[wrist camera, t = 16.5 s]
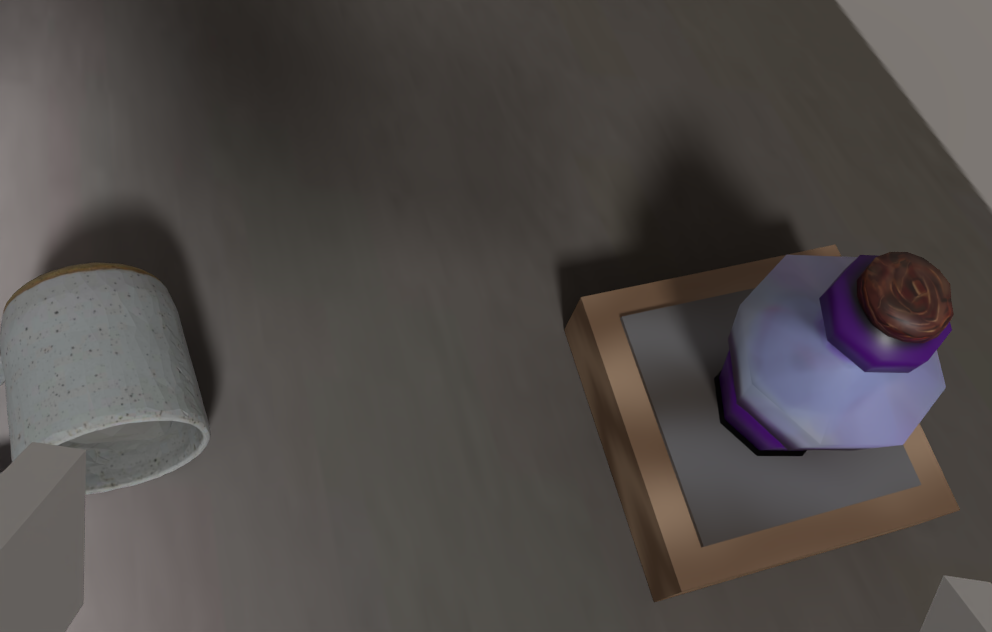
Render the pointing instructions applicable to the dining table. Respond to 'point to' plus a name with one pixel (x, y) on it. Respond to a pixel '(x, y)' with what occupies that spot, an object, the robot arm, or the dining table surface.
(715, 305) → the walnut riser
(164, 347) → the ceramic mug
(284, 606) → the dining table surface
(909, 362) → the potion bottle
